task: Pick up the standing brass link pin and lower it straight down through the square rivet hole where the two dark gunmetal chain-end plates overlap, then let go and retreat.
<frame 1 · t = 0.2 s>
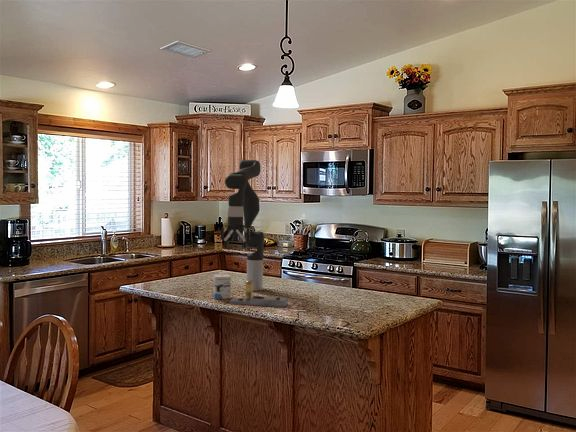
hand: (235, 248, 254), 28 cm above the countertop, fingers open, 8 cm apart
link plates: (258, 304, 261), on the countertop
link pin: (248, 300, 269), on the countertop
ink box: (221, 298, 274), on the countertop
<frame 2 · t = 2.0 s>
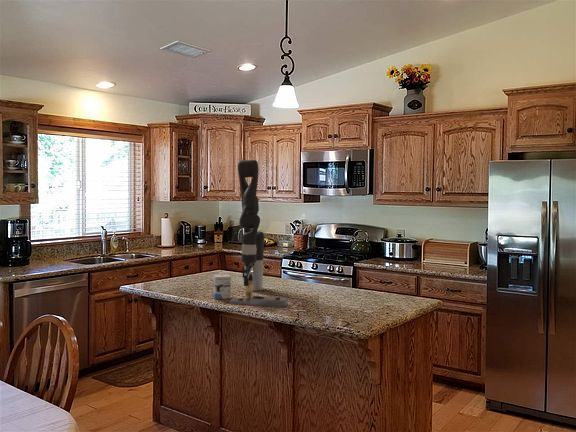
hand: (248, 284, 269), 8 cm above the countertop, fingers open, 8 cm apart
nothing on the countertop moved.
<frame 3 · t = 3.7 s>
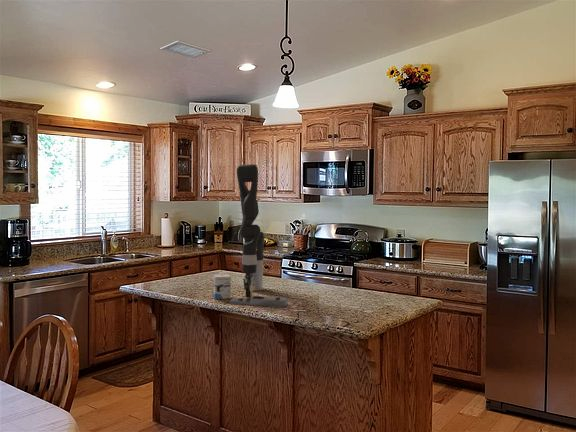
hand: (248, 296, 269), 2 cm above the countertop, fingers closed on link pin, 3 cm apart
link pin: (248, 300, 269), on the countertop, touching gripper
everything else where it was.
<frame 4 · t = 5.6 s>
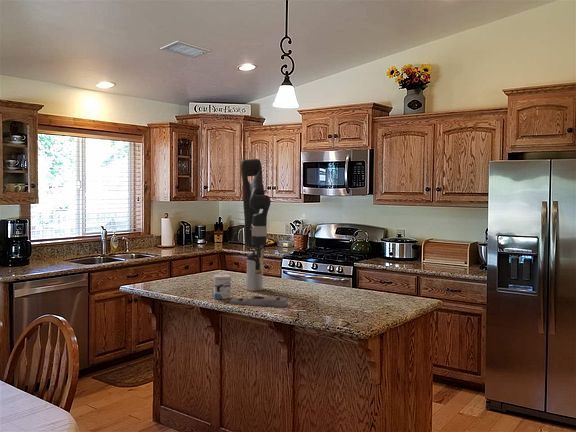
hand: (258, 269, 260), 18 cm above the countertop, fingers closed on link pin, 3 cm apart
link pin: (258, 273, 260), point 15 cm above the countertop, touching gripper
everything else where it was.
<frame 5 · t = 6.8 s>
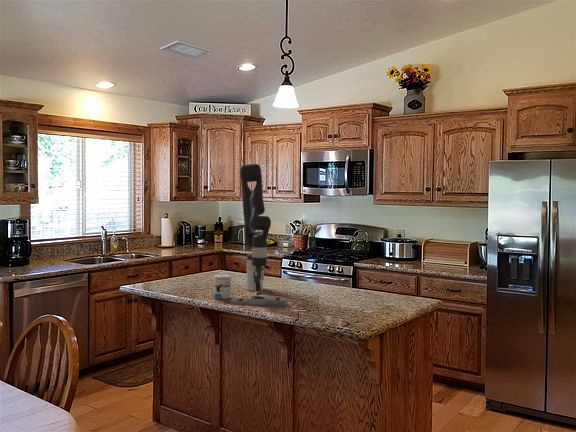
hand: (258, 290, 261), 7 cm above the countertop, fingers closed on link pin, 3 cm apart
link pin: (258, 294, 261), point 5 cm above the countertop, touching gripper
everything else where it was.
when the fingers open (4 cm above the countertop, at t = 7.8 s): link pin drops 1 cm, resting in link plates.
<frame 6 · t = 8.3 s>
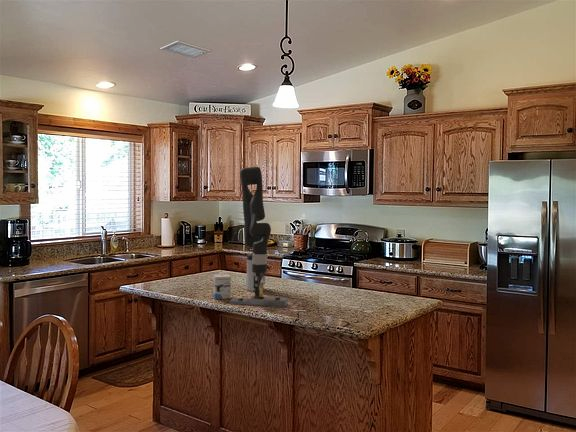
hand: (259, 295, 261), 5 cm above the countertop, fingers open, 8 cm apart
link pin: (258, 304, 261), resting in link plates
everything else where it was.
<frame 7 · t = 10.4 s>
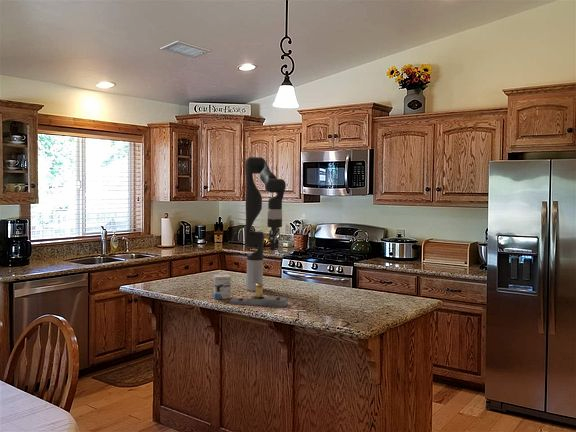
hand: (274, 249, 269), 27 cm above the countertop, fingers open, 8 cm apart
nothing on the countertop moved.
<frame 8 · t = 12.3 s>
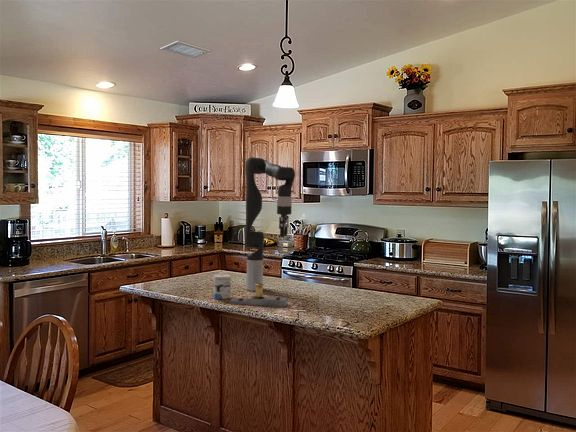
hand: (283, 236, 274), 33 cm above the countertop, fingers open, 8 cm apart
nothing on the countertop moved.
at the end: link pin 0.1 cm off-centre on the link plates, point 0.0 cm above the link plates's base; link pin tilted 0°; the gripper is holding nothing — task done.
